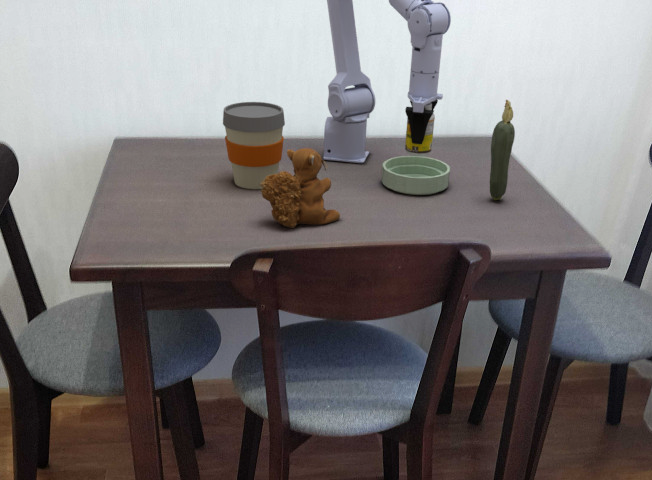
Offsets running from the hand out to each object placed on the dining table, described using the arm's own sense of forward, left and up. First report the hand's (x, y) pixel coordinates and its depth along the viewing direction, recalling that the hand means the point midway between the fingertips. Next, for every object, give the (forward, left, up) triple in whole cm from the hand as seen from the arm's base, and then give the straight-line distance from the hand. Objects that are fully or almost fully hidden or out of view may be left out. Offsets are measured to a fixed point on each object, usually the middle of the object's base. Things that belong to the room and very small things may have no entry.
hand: (418, 139), depth 160 cm
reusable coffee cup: (-33, -9, -10) cm, 36 cm away
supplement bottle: (0, 0, -3) cm, 3 cm away
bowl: (0, -1, -10) cm, 10 cm away
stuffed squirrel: (-19, -27, -10) cm, 34 cm away
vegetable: (+17, -6, -10) cm, 20 cm away
